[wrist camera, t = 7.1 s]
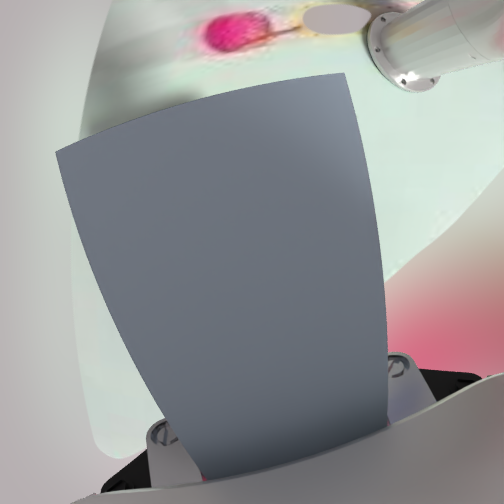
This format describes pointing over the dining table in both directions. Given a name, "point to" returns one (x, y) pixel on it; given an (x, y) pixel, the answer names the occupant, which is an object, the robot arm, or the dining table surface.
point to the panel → (242, 268)
